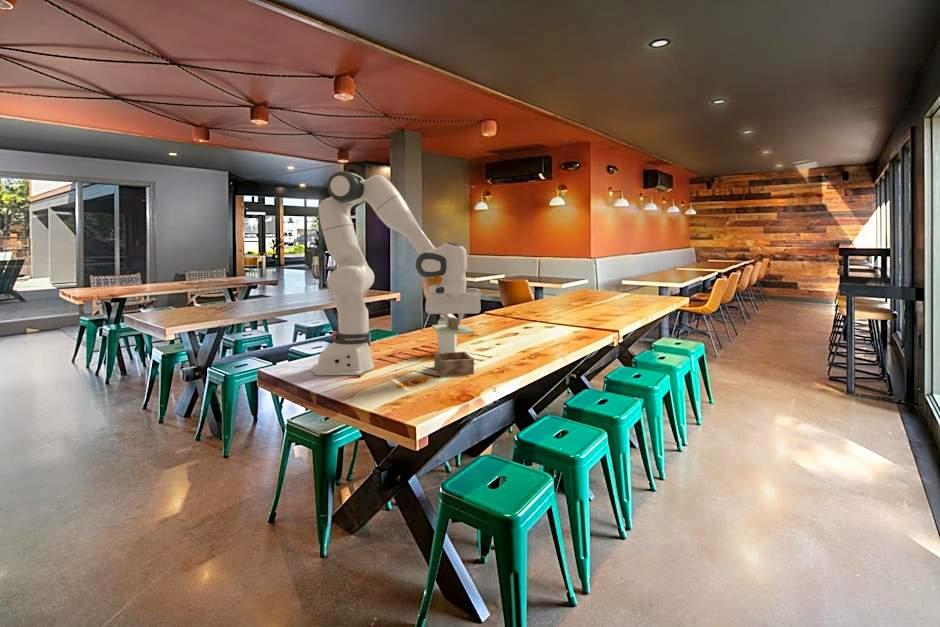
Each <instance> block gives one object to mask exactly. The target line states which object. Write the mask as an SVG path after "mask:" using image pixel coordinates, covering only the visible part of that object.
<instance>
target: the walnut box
mask: <svg viewBox="0 0 940 627" xmlns="http://www.w3.org/2000/svg"><path fill="white" fill-rule="evenodd" d="M433 355H434V356H433V357H434V358H433V359H434V363H433V365H434V368H435V370H437V372H438V374H440V376H442V377H447V376H458V375H459V376H460V375H471V374H474V373H475V372H474V370H475V360H474V358H473V357H471V355H469V353H467V352H466V351H457V352H450V353H438V352H437V353H433ZM445 360H447V361H445Z"/></svg>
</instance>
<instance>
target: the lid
mask: <svg viewBox="0 0 940 627" xmlns="http://www.w3.org/2000/svg"><path fill="white" fill-rule="evenodd" d="M455 317H456V316H455ZM455 317H448V320H449V321H450V326H446V325H438V324H432V325H431V326H432V329H433V330H434V331H435V332H436V333H437V335H438V334H439V335H454V334H457V335H474V334H475V330H474V329H472V328H471V327H469V326H468V325H466V324H465V323H463V324H462V323H460V326H458V318H457V317H456V318H457V319H456V318H455Z"/></svg>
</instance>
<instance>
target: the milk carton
mask: <svg viewBox="0 0 940 627" xmlns="http://www.w3.org/2000/svg"><path fill="white" fill-rule="evenodd" d="M442 315H443V314H439V317H440V318H439V319H438V321H437V325H445V319H444V318H443V316H442ZM448 317H455V318H456V319H457V320H458V318H457V317H456V316H455V315H454V314H448V316H447V317H446V318H447V320H448ZM457 339H458V334H454V335H439V334H438V333H437V353H450V352H458V350H457V349H458V344H457V342H458V340H457Z"/></svg>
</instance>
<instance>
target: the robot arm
mask: <svg viewBox="0 0 940 627" xmlns="http://www.w3.org/2000/svg"><path fill="white" fill-rule="evenodd" d="M327 192H328V194H329V195H330V196H329V197H327V198H325V199H322V201H320V202H319V204H318V215H319V222H320V226H321V230H322V234H323V235H322V236H323V239H324V243H325V244H326V248H327V252H328V254H329V255H330V257H332V259H333V260H334V262H335V264H336V266H337V268H336V269H334V270H332V272H331V273H330V274H329V276H328V278H327V287H328V289H329V291H330V292H331V293H332V296H333V299H334V303H335V305H336V311H337V322H338V323H337V324H338V327H337V328H338V331H336V330H335V331H332V333H331V337H332V341H333V342H332V343H331V344H329V345H328V346H327V347H325V348H324V349H322V351H320V354H319V355H318V361H317V363H316V364H314V365H313V366H312V370H311V372H312V374H313V375H315V376H358V375H361V374H363V373H365V372H368V371H372V370H373V369H374V368H375V365H374V362H373V358H372V353H371V347H370V346H371V342H372V341H371V338H372V337H371V331H370V330H369V329H370V328H369V327H370V326H369V325H370V324H369V323H370V322H369V321H370V320H369V309H368V307H366V303H365V299H364V293H365V292H366V291H368V290H369V289H370V288H371V287H372V286H373V285H374V282H375V274H374V271H373V270H372V269H371V267H370V266H369V264H368V261H367V260H366V258H365V256H364V254H363V252H362V249H361V247H360V245H359V241H358V238H357V234H356V231H355V228H354V225H353V220H352V216H351V210H354V209H356V208H358V207H359V206H360V205H363V204H364V203H365V202H366V203H367V204H369V206H370V207H371V208H372V210H373V211H374V213H375V214H376V216H377V217H378V218H379V220H381V222H382V223H383V224H384V225H385V226H386V227H387V228H389V229H391V230H393V231H396V232H397V233H400V234H401V235H403V236H404V237H405V238H406V239H407V240H408V241H409V243H410V244H411V245H412V246H413V248H414V249H415V251H416V252H417V253H418V254H419V255H418V257H417V258H416V261H415V268H416V271H417V274H419V275H420V276H422V277H424V278H426V279H432V278H437V277H441V282H439V283H436V284H432V285H430V286H429V287H428V292H429V293H427V295H426V300H425V306H424V307H425V309H424V310H425V312H426V314H428V315H432V314H433V315H441V314H443V315H442V316H443V318H444V319H445V325H446V326H450V321H449V320H447V318H446V317H447V316H448V314H453V315H454V314H456V315H457V314H458V316H459V317H458V318H457V320H458V326H460V324H461V321H463V318H464V316H465V314H479V313H480V312H481V309H482V308H481V305H482V304H481V298H482V291H481V290H480V288H479V289H478V287H473V288H471V287H467V276H466V273H467V268H468V255H467V254H468V253H467V249H466V247H465V246H464V245H462V244H461V243H456V242H450V241H447V242H444V243H443V244H441V246H437V247H436V246H435V245H434V244H433V243H432V241H431V240H430V239H429V237H428V236H427V235H426V234H425V232H424V231H423V229H422V228H421V227H420V225H419V223H418V222H417V221H416V218H415V216H414V215H413V213H412V211H411V210H410V207H409V205H408V204H407V202H406V200H405V199H404V198H403V196H402V195H401V193H400V192H399V190H398V189H397V188H396V187H395V186H394V184H393V183H392V182H391V181H390V180H389V179H388V178H387V177H386V176H384V175H382V174H374V175H372V176H370V177H369V178H367V179H365V178H364V177H363V176H360V175H359V174H357V173H354V172H350V171H346V170H341V171H336V172H335V173H332V175H331V176H330V177H329V178H328V181H327Z"/></svg>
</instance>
